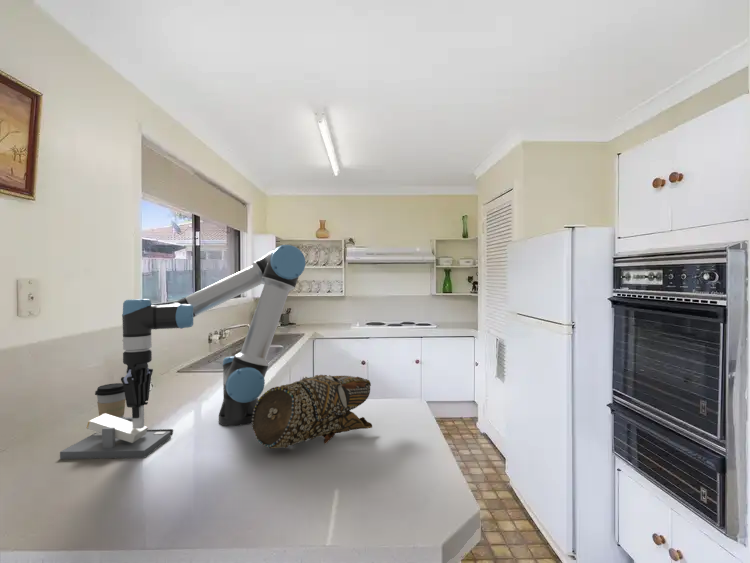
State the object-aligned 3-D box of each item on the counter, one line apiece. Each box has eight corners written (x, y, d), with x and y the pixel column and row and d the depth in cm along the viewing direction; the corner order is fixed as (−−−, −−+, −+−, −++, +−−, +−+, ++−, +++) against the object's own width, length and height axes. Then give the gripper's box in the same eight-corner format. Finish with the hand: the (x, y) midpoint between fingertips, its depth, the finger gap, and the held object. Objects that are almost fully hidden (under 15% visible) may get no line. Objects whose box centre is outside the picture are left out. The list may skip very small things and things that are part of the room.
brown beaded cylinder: (329, 379, 152) (244, 381, 127) (370, 358, 140) (286, 355, 115) (342, 445, 142) (253, 461, 117) (388, 428, 130) (300, 442, 105)
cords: (174, 432, 136) (174, 428, 136) (170, 435, 133) (170, 431, 133) (123, 433, 136) (123, 429, 136) (118, 436, 133) (118, 432, 133)
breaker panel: (170, 437, 131) (170, 414, 131) (144, 457, 116) (144, 431, 116) (96, 438, 131) (95, 415, 131) (60, 458, 116) (59, 432, 116)
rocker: (145, 434, 127) (148, 426, 127) (132, 443, 120) (134, 435, 120) (102, 420, 127) (104, 413, 127) (86, 428, 120) (88, 420, 120)
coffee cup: (112, 435, 133) (111, 390, 133) (88, 434, 135) (87, 389, 135) (134, 425, 143) (134, 383, 143) (111, 424, 144) (111, 382, 145)
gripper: (137, 346, 130) (138, 420, 130) (111, 353, 117) (112, 435, 117) (161, 346, 130) (161, 420, 130) (137, 353, 117) (138, 435, 117)
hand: (138, 427), depth 123 cm, fingers closed
